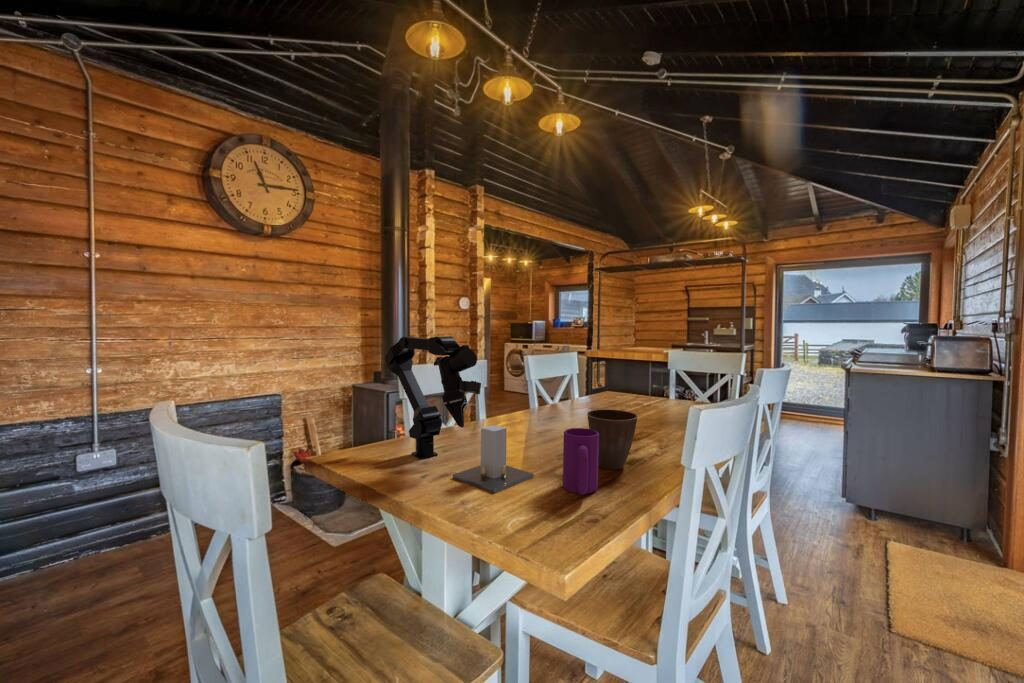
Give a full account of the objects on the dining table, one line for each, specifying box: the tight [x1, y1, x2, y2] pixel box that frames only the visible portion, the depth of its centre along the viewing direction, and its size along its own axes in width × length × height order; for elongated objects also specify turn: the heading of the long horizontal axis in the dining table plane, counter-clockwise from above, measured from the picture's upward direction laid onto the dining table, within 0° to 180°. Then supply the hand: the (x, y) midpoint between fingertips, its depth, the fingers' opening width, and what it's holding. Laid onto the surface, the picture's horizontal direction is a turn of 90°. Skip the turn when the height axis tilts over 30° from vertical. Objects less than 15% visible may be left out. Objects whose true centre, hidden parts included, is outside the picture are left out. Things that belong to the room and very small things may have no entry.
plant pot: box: [586, 409, 639, 471], centre depth 133 cm, size 15×15×16 cm
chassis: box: [452, 464, 534, 494], centre depth 122 cm, size 16×16×4 cm
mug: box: [562, 427, 599, 495], centre depth 112 cm, size 9×16×15 cm, turn 176°
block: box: [480, 424, 507, 479], centre depth 122 cm, size 5×5×13 cm
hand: (461, 426), depth 129 cm, fingers open, 9 cm apart
